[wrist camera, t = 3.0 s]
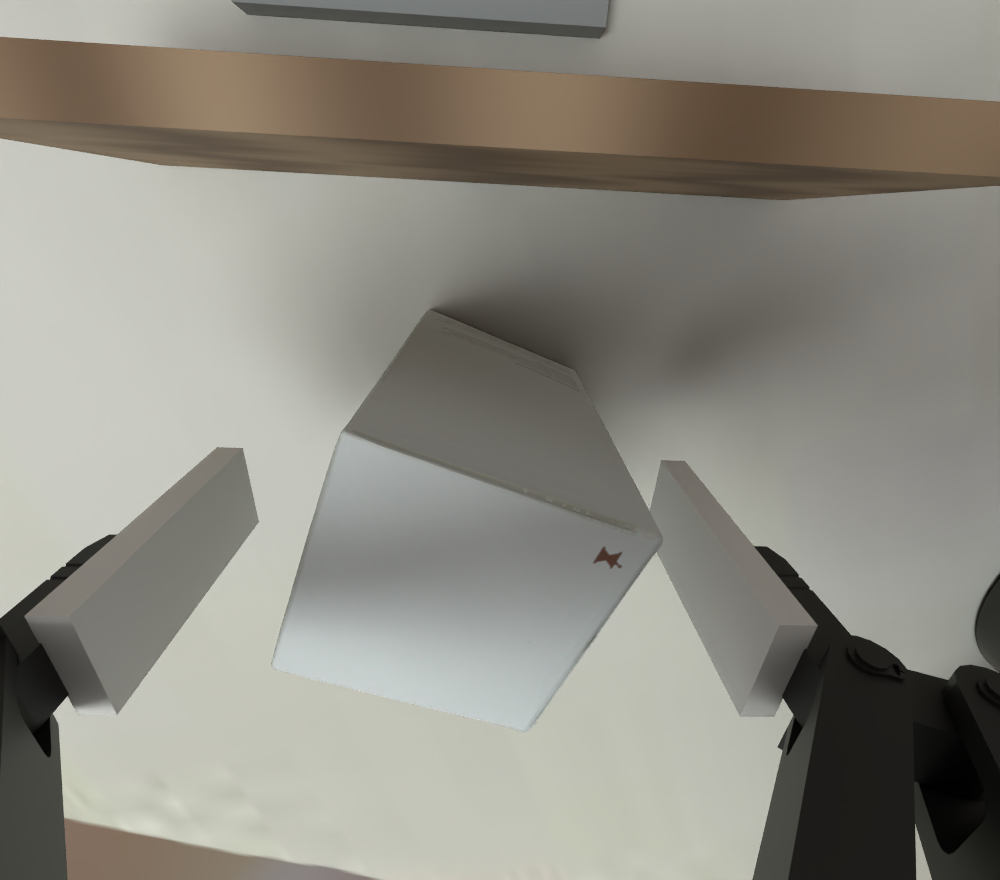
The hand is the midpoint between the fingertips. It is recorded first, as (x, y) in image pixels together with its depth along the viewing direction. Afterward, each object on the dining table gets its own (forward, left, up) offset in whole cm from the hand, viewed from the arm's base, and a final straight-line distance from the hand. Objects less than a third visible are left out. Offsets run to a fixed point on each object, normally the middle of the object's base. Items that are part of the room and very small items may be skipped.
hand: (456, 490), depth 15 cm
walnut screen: (0, -10, -8) cm, 12 cm away
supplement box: (0, 0, -8) cm, 8 cm away
